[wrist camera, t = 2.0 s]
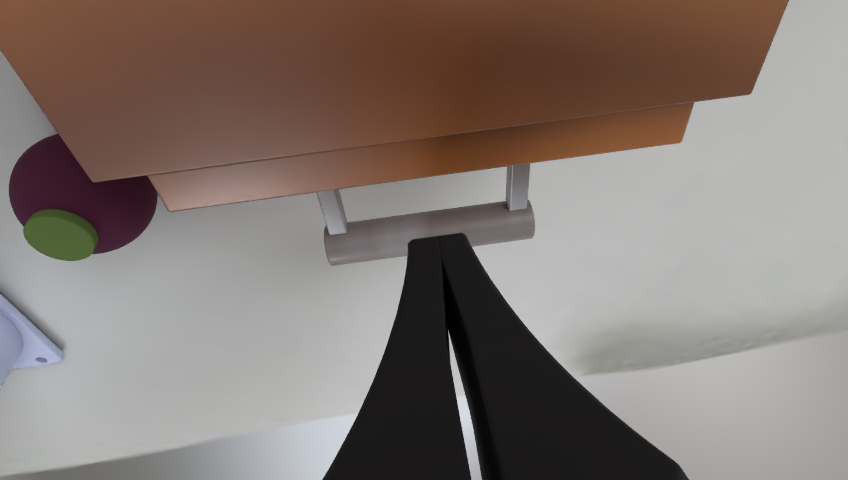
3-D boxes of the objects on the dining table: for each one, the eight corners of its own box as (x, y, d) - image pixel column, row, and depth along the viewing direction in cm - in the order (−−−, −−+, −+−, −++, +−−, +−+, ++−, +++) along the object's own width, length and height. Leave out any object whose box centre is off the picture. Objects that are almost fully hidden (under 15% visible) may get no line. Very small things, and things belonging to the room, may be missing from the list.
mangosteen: (85, 207, 21) (34, 292, 18) (18, 115, 18) (-61, 196, 15) (189, 193, 21) (157, 275, 18) (138, 99, 18) (89, 176, 15)
